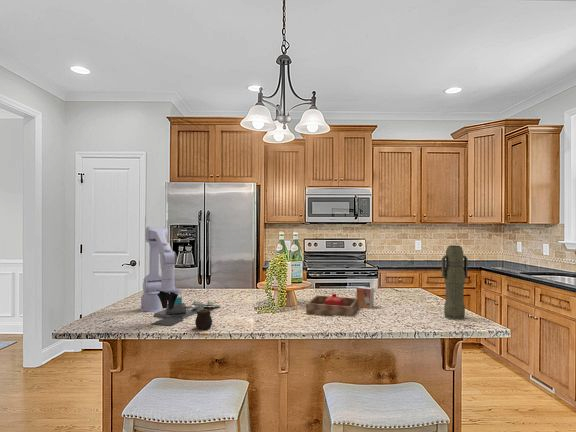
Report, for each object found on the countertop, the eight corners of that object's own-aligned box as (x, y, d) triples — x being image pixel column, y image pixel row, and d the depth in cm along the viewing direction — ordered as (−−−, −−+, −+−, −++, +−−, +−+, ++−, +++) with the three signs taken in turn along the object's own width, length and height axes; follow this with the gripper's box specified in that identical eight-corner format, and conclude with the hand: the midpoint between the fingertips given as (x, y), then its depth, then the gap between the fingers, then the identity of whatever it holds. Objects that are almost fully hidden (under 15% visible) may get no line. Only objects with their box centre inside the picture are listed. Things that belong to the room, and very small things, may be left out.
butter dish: (328, 306, 208) (328, 290, 208) (348, 308, 202) (348, 292, 202) (319, 310, 198) (319, 294, 198) (340, 313, 192) (340, 296, 192)
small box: (356, 307, 205) (356, 287, 205) (359, 305, 210) (359, 286, 210) (370, 309, 201) (370, 289, 201) (373, 306, 206) (373, 287, 206)
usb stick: (170, 313, 184) (170, 298, 184) (169, 311, 187) (169, 297, 186) (182, 312, 187) (182, 297, 186) (182, 310, 189) (182, 296, 189)
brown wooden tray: (306, 313, 190) (306, 303, 190) (316, 304, 211) (316, 295, 211) (351, 317, 183) (352, 307, 183) (358, 307, 203) (358, 298, 203)
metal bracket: (214, 300, 192) (185, 300, 193) (213, 312, 190) (184, 311, 191) (222, 302, 205) (195, 302, 207) (221, 314, 204) (193, 313, 205)
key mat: (151, 324, 170) (151, 323, 170) (165, 319, 179) (165, 318, 179) (170, 326, 166) (170, 325, 166) (183, 321, 176) (183, 319, 176)
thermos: (437, 317, 183) (437, 245, 184) (460, 316, 185) (460, 245, 186) (448, 322, 175) (448, 246, 175) (471, 321, 177) (471, 246, 177)
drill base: (154, 316, 183) (154, 313, 183) (169, 310, 195) (169, 307, 195) (182, 319, 178) (182, 316, 178) (196, 313, 190) (196, 310, 190)
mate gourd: (197, 326, 167) (197, 303, 167) (214, 326, 167) (214, 303, 167) (193, 331, 160) (193, 307, 160) (210, 331, 160) (211, 307, 160)
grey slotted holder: (166, 314, 181) (166, 308, 181) (165, 310, 189) (165, 304, 189) (200, 311, 187) (200, 305, 187) (198, 307, 195) (198, 301, 195)
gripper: (186, 278, 173) (186, 308, 173) (163, 276, 180) (162, 305, 180) (174, 280, 167) (174, 312, 167) (151, 278, 174) (151, 308, 173)
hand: (167, 308), depth 173 cm, fingers open, 3 cm apart
